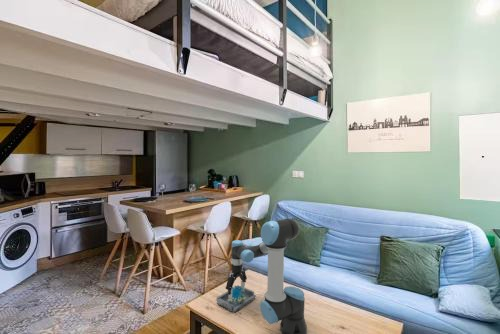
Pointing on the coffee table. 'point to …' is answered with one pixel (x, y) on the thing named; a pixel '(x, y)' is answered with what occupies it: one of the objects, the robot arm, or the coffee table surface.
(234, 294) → the gear
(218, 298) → the gray metal tray
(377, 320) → the coffee table surface
